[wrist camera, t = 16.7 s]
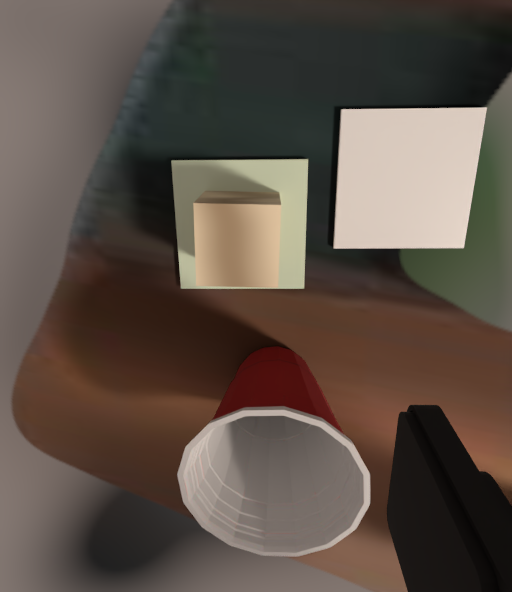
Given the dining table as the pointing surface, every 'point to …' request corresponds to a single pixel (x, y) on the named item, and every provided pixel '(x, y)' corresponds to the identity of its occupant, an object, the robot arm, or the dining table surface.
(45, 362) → the dining table surface
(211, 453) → the plastic cup
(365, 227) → the blush pad
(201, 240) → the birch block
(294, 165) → the sage pad
